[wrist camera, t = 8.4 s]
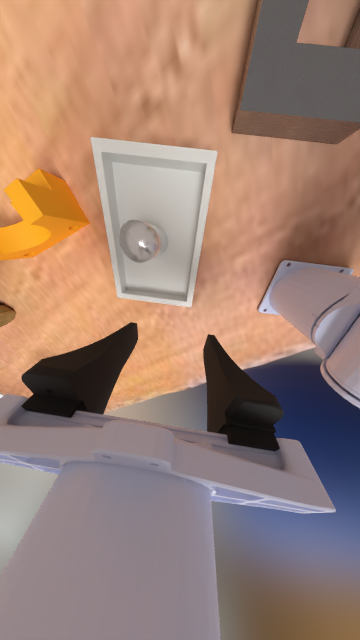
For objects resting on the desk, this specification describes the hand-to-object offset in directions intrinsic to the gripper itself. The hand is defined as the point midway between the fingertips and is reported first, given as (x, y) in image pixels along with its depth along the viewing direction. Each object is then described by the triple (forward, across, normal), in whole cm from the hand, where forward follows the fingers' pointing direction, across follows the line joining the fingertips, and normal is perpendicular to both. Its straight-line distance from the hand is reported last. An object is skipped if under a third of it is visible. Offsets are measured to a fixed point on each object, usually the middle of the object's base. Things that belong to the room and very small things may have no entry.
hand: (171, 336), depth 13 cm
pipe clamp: (+11, +20, -8) cm, 24 cm away
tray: (+10, +4, -8) cm, 13 cm away
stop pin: (+10, +4, -8) cm, 13 cm away
